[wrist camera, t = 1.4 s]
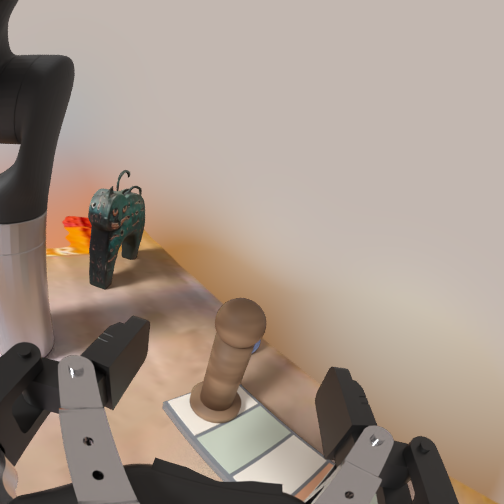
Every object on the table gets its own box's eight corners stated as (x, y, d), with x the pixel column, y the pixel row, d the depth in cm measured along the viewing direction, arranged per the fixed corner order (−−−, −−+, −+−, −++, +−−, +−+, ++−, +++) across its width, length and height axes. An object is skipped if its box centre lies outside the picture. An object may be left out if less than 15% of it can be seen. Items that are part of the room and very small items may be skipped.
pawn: (179, 394, 27) (200, 289, 22) (218, 380, 31) (248, 282, 26) (210, 430, 23) (245, 328, 19) (249, 410, 27) (292, 313, 23)
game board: (162, 408, 25) (163, 401, 25) (230, 382, 33) (232, 375, 32) (345, 572, 9) (354, 570, 8) (392, 508, 16) (400, 504, 15)
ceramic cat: (106, 296, 41) (118, 176, 35) (76, 285, 41) (84, 169, 34) (144, 256, 60) (160, 169, 54) (120, 249, 59) (134, 164, 53)
